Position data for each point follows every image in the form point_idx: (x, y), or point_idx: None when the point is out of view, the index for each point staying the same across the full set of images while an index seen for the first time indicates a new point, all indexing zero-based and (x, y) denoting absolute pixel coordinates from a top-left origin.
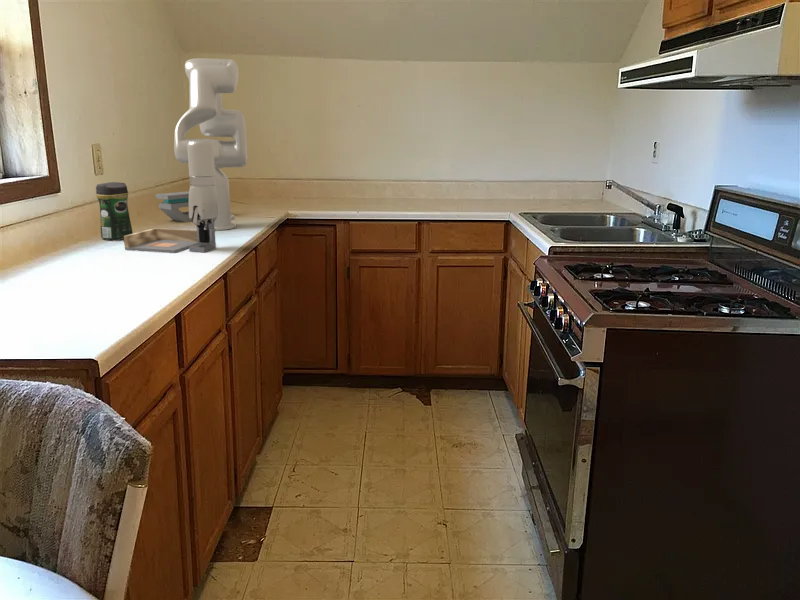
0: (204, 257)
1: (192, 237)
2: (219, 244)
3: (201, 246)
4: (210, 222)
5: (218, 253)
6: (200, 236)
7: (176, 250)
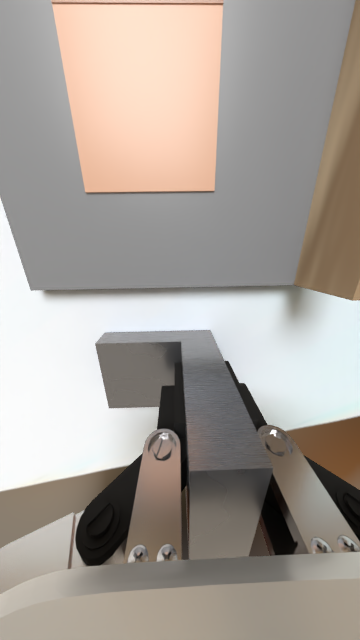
0: (46, 429)
1: (327, 229)
2: (299, 359)
3: (124, 390)
4: (266, 536)
5: (126, 433)
6: (160, 400)
7: (56, 288)
